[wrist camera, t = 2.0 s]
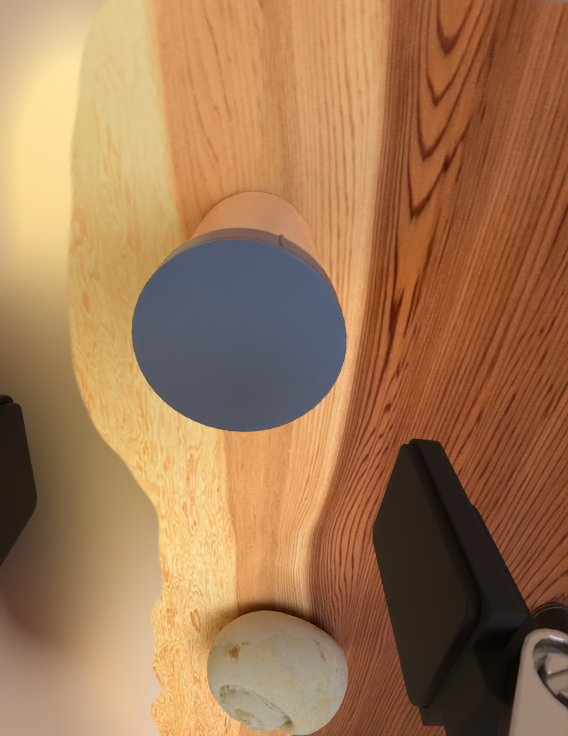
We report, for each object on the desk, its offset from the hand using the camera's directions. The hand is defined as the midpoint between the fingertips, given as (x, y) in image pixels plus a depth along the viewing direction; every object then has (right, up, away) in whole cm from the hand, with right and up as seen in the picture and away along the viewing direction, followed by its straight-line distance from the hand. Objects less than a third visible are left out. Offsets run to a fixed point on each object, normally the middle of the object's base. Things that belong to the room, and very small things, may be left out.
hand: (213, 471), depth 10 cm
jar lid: (0, +3, +5) cm, 6 cm away
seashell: (+1, -22, +32) cm, 39 cm away
